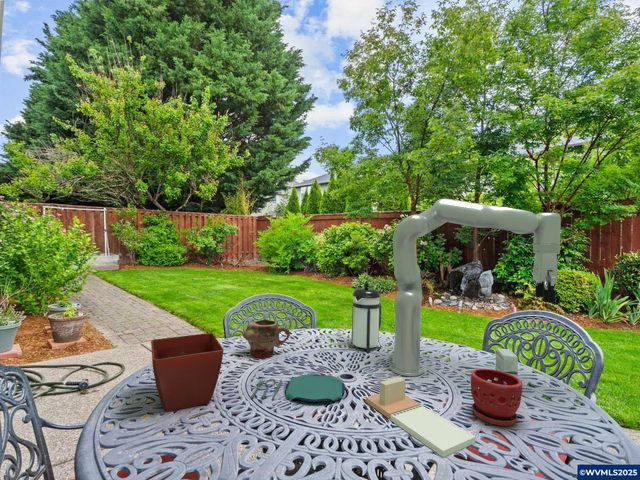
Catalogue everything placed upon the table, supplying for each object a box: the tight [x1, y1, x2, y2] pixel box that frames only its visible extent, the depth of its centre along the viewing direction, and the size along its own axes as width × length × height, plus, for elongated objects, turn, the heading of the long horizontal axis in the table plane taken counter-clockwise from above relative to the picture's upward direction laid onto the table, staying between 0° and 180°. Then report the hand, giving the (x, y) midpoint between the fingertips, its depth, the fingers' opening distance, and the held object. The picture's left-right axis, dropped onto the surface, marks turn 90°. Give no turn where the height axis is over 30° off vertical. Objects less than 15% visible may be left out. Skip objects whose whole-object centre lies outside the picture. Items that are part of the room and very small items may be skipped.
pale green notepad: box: [389, 404, 477, 458], centre depth 89 cm, size 18×12×2 cm, turn 30°
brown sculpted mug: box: [242, 319, 291, 359], centre depth 143 cm, size 20×12×14 cm, turn 98°
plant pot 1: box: [150, 332, 224, 413], centre depth 103 cm, size 19×19×17 cm
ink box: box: [494, 347, 519, 385], centre depth 118 cm, size 9×5×12 cm, turn 168°
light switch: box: [364, 376, 421, 420], centre depth 102 cm, size 11×12×7 cm
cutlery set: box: [250, 374, 347, 403], centre depth 111 cm, size 20×30×2 cm, turn 86°
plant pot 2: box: [470, 368, 523, 426], centre depth 97 cm, size 13×13×12 cm
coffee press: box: [348, 282, 382, 354], centre depth 156 cm, size 17×16×30 cm
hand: (544, 299), depth 114 cm, fingers open, 9 cm apart
